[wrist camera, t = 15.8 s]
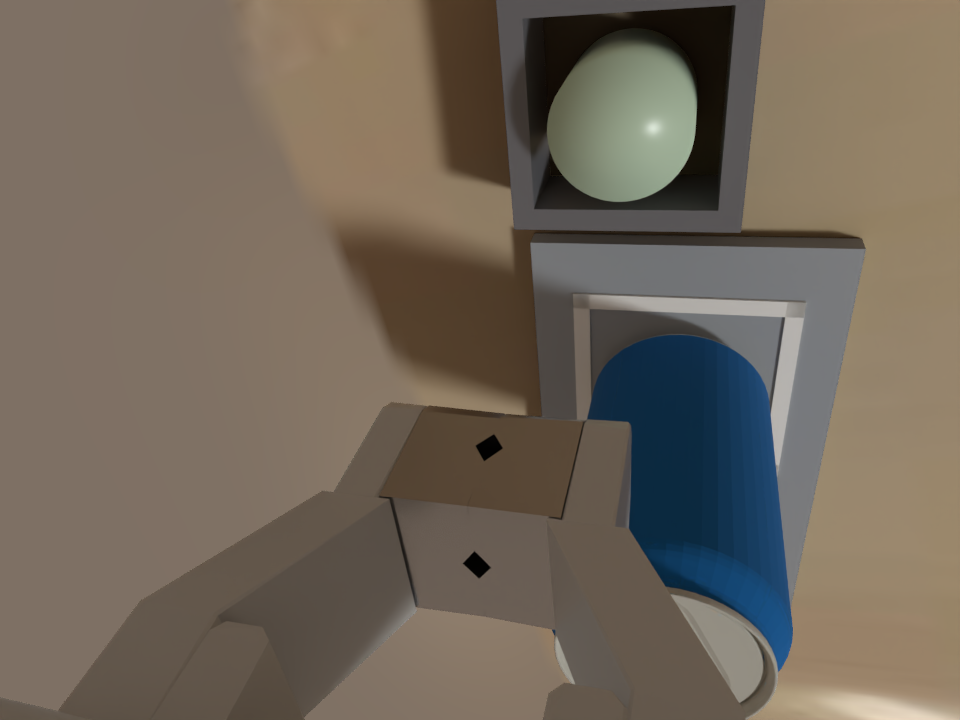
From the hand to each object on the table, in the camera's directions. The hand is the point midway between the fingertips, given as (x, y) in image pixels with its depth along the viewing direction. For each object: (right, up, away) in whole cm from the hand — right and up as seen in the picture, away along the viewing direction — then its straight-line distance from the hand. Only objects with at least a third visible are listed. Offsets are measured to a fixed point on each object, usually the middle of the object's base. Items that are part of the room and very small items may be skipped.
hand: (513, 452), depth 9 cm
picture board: (+8, -2, +21) cm, 23 cm away
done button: (+4, +9, +14) cm, 17 cm away
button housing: (+4, +10, +14) cm, 18 cm away
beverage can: (+7, 0, +19) cm, 21 cm away
